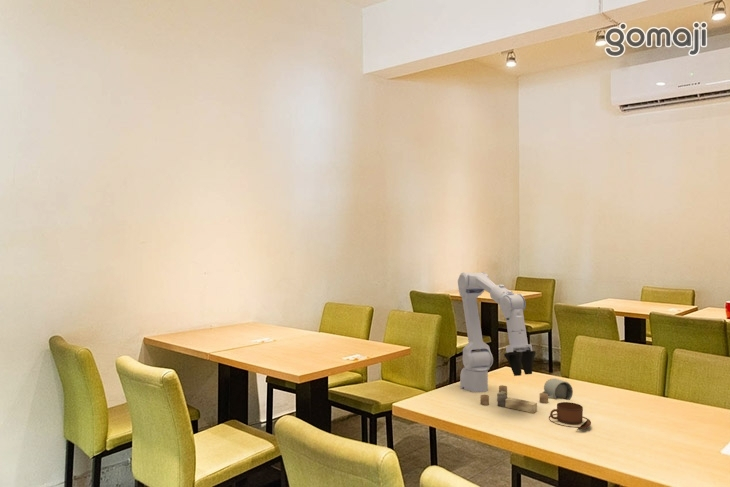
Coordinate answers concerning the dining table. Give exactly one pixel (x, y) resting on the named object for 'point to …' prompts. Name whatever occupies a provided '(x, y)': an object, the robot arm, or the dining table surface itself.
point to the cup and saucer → (570, 414)
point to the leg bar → (517, 404)
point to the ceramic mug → (558, 389)
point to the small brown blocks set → (503, 392)
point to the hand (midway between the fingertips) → (523, 375)
